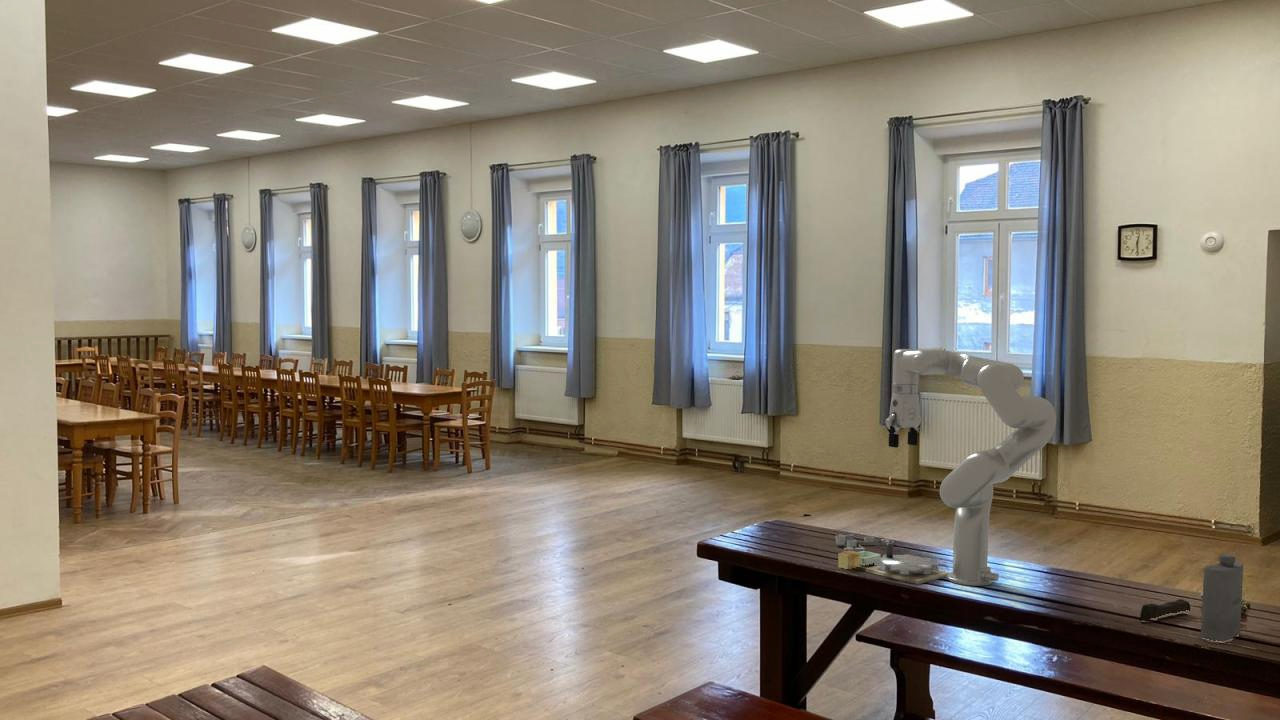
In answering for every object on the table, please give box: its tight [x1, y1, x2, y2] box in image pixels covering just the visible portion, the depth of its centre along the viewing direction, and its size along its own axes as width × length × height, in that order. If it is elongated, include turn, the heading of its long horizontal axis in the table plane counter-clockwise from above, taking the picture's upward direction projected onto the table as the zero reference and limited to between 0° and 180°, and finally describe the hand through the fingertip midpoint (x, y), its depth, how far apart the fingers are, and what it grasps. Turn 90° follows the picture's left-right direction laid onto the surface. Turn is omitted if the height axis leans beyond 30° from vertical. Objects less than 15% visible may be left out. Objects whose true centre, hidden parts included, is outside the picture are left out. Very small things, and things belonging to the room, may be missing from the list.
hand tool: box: [1139, 598, 1191, 622], centre depth 272 cm, size 19×4×5 cm, turn 120°
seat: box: [859, 550, 882, 567], centre depth 327 cm, size 6×9×2 cm
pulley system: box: [835, 533, 895, 552], centre depth 350 cm, size 27×5×15 cm
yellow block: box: [837, 550, 861, 570], centre depth 320 cm, size 4×6×5 cm, turn 132°
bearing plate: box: [865, 565, 950, 585], centre depth 313 cm, size 18×16×2 cm
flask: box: [1200, 553, 1244, 641], centre depth 256 cm, size 15×6×20 cm, turn 132°
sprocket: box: [874, 543, 940, 574], centre depth 313 cm, size 18×18×6 cm
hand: (903, 445), depth 323 cm, fingers open, 9 cm apart
